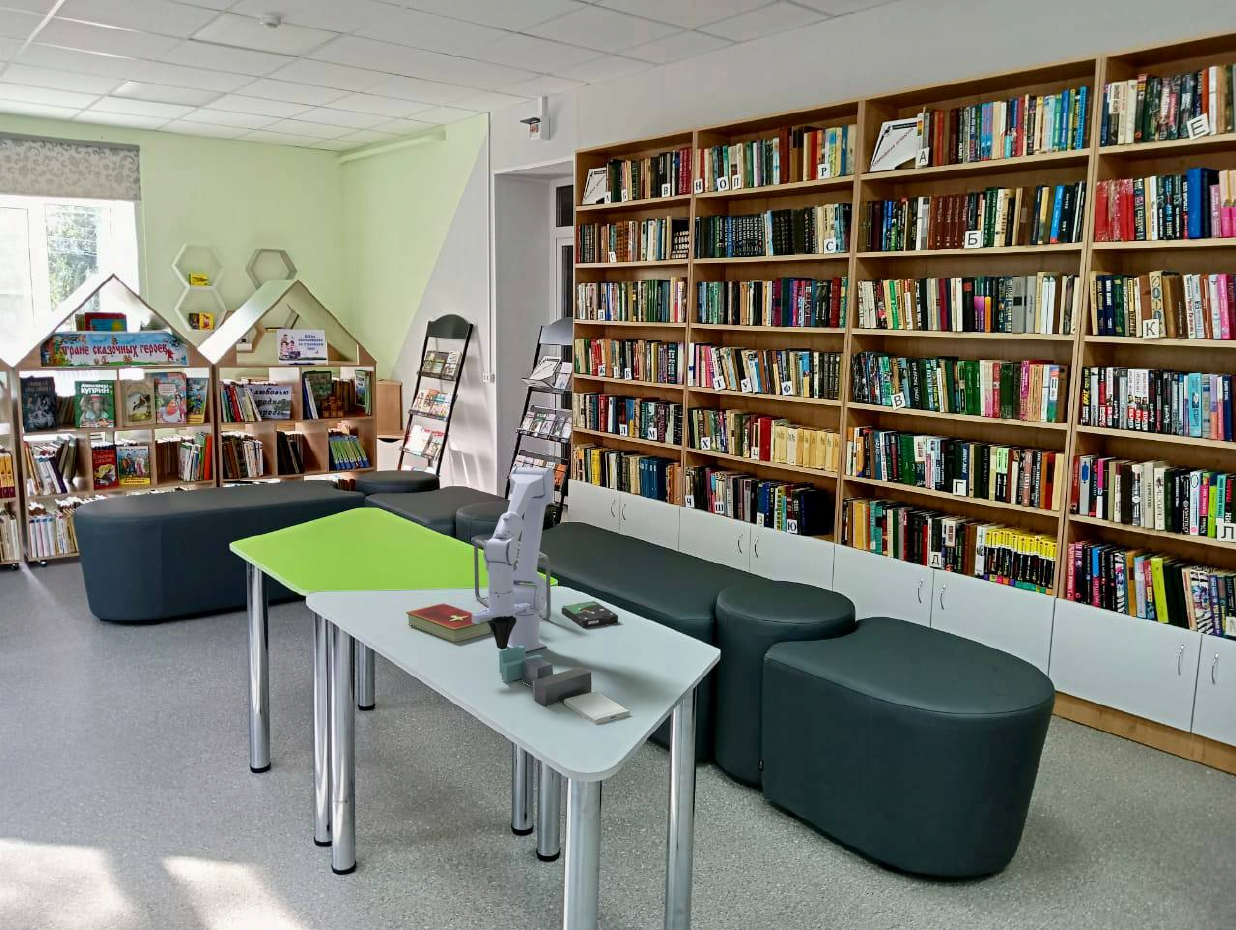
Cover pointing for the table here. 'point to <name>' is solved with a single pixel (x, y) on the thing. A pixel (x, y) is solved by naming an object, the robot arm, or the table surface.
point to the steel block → (535, 670)
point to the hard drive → (596, 707)
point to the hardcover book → (447, 622)
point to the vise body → (562, 686)
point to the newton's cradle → (548, 591)
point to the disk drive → (589, 614)
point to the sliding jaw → (513, 662)
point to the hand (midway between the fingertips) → (501, 648)
